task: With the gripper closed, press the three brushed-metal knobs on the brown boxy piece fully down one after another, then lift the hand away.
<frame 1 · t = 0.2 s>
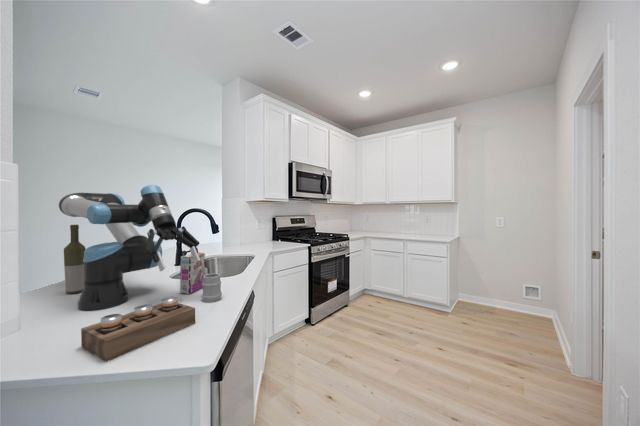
hand: (181, 265, 98), 16 cm above the counter, tool tilted 35°, fingers open, 13 cm apart
brown boxy piece: (143, 333, 77), on the counter
bottle: (75, 292, 114), on the counter
knob a: (111, 326, 70), point 5 cm above the counter, slide at 0.0 cm
mug: (209, 298, 107), on the counter
knob c: (170, 306, 84), point 5 cm above the counter, slide at 0.0 cm
candy bar box: (193, 290, 117), on the counter
knob b: (143, 315, 77), point 5 cm above the counter, slide at 0.0 cm
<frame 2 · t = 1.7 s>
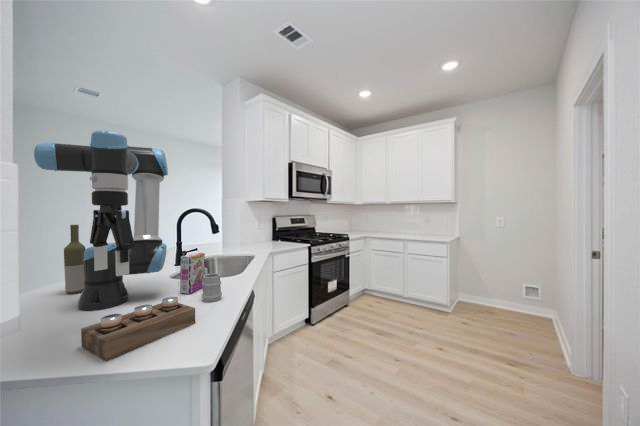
hand: (111, 272, 69), 20 cm above the counter, tool pointing down, fingers open, 11 cm apart
nothing on the counter moved.
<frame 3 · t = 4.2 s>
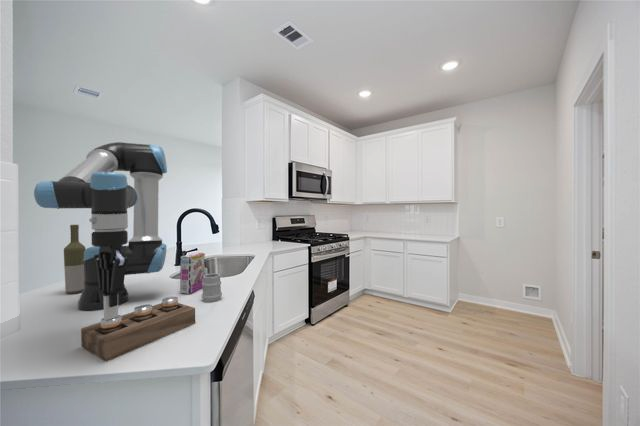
hand: (111, 317, 69), 8 cm above the counter, tool pointing down, fingers closed
knob a: (111, 327, 70), point 5 cm above the counter, slide at 0.3 cm, touching gripper
everything else where it was.
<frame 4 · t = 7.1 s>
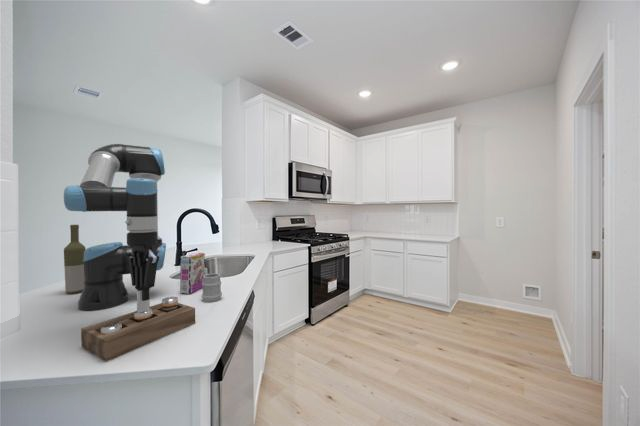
hand: (143, 310, 76), 7 cm above the counter, tool pointing down, fingers closed
knob a: (111, 335, 70), point 3 cm above the counter, slide at 2.5 cm
knob b: (143, 319, 77), point 4 cm above the counter, slide at 1.2 cm, touching gripper
everything else where it was.
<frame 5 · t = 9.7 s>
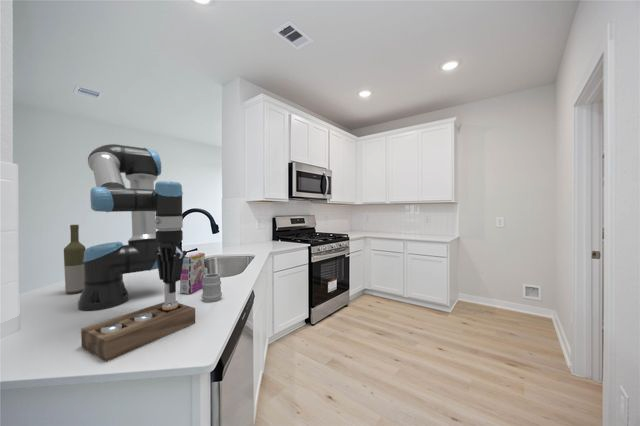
hand: (170, 302, 83), 7 cm above the counter, tool pointing down, fingers closed
knob c: (170, 310, 84), point 4 cm above the counter, slide at 1.3 cm, touching gripper
knob b: (143, 323, 77), point 3 cm above the counter, slide at 2.5 cm
everything else where it was.
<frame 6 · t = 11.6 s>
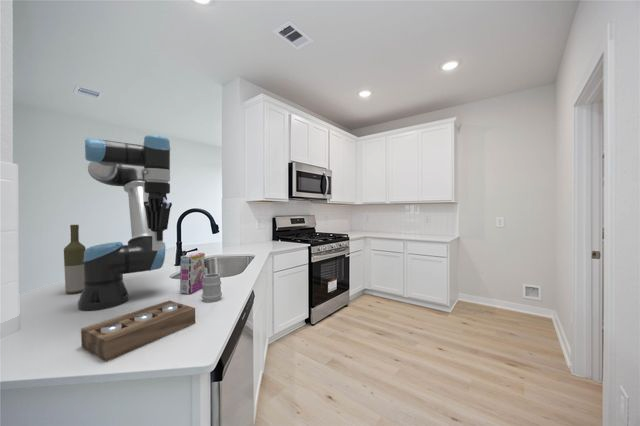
hand: (157, 249, 90), 23 cm above the counter, tool pointing down, fingers closed
knob c: (170, 314, 84), point 3 cm above the counter, slide at 2.5 cm
everything else where it was.
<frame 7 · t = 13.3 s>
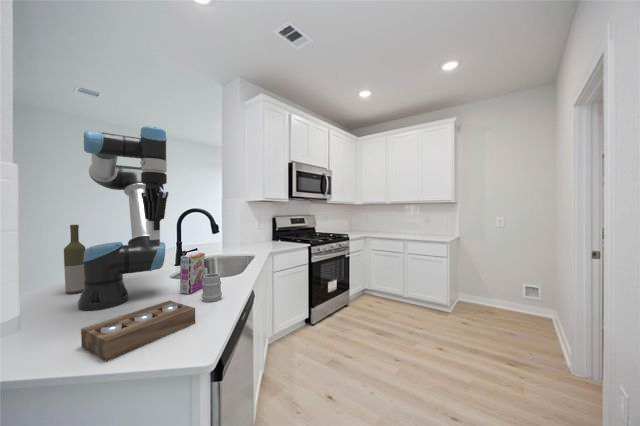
hand: (154, 239, 91), 26 cm above the counter, tool pointing down, fingers closed
nothing on the counter moved.
at the end: knob a slide at 2.5 cm; knob b slide at 2.5 cm; knob c slide at 2.5 cm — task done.
